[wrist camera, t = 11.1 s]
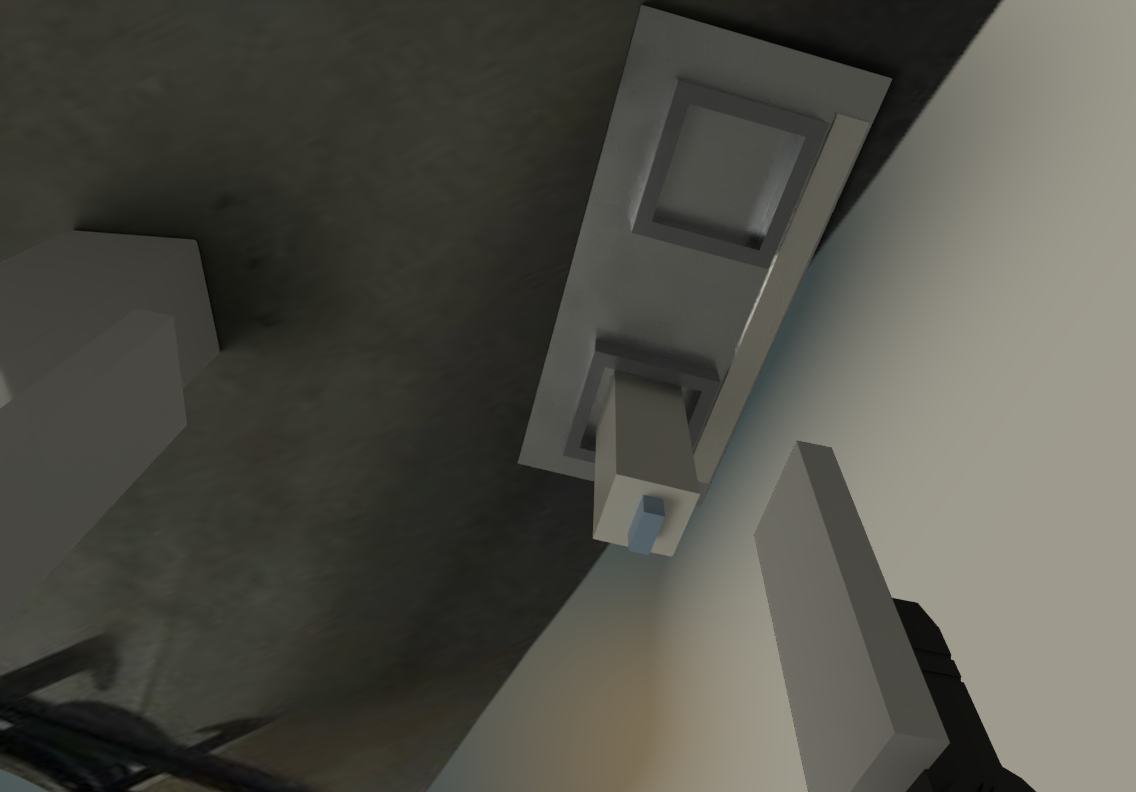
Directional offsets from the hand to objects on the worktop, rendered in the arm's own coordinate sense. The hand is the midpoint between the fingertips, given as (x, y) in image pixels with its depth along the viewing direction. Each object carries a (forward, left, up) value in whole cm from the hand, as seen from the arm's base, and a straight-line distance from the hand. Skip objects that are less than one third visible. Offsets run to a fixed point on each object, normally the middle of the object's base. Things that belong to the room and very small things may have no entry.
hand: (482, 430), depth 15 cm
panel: (+5, +8, -25) cm, 26 cm away
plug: (+12, +8, -24) cm, 28 cm away
